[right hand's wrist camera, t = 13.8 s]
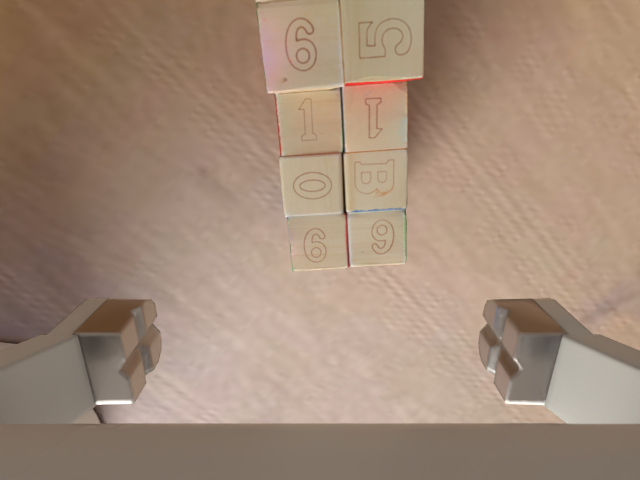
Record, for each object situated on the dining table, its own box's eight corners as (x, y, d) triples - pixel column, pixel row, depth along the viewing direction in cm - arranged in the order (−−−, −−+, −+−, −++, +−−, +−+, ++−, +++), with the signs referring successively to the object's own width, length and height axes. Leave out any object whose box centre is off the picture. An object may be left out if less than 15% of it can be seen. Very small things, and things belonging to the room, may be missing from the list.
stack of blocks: (381, 214, 30) (419, 295, 18) (297, 219, 30) (283, 302, 19) (379, -156, 22) (441, -411, 11) (266, -147, 22) (209, -389, 11)
